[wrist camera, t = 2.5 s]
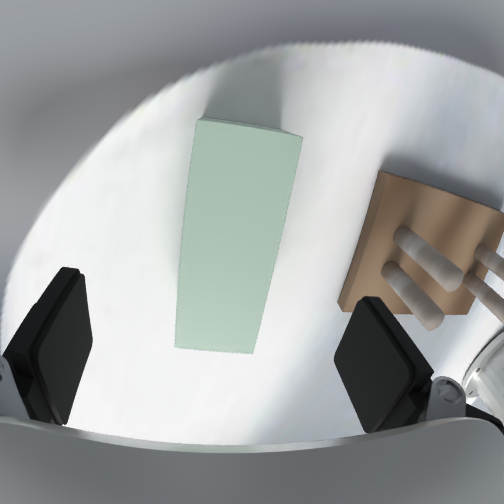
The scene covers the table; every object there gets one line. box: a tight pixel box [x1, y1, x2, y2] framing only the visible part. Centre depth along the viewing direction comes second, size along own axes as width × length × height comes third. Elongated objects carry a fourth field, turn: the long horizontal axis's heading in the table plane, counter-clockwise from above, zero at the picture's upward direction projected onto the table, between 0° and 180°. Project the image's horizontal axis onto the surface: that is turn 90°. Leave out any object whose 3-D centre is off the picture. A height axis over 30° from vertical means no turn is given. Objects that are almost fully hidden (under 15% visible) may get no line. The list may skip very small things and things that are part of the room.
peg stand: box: [337, 170, 504, 331], centre depth 19 cm, size 14×10×7 cm
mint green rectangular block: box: [175, 117, 303, 354], centre depth 17 cm, size 4×12×5 cm, turn 170°
